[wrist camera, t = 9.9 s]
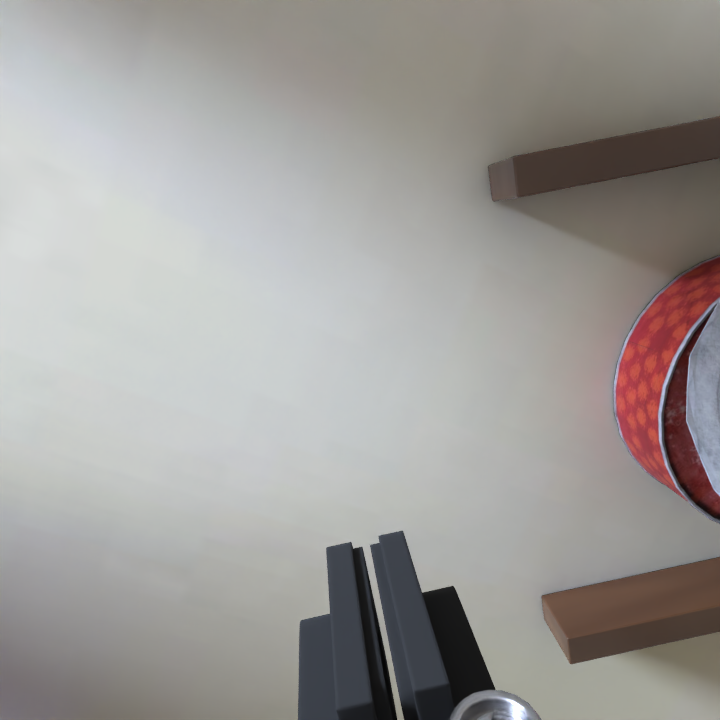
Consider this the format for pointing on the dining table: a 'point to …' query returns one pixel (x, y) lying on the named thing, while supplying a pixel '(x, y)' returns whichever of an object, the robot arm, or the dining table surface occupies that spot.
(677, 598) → the bay
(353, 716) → the robot arm
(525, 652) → the dining table surface
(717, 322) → the canned food
